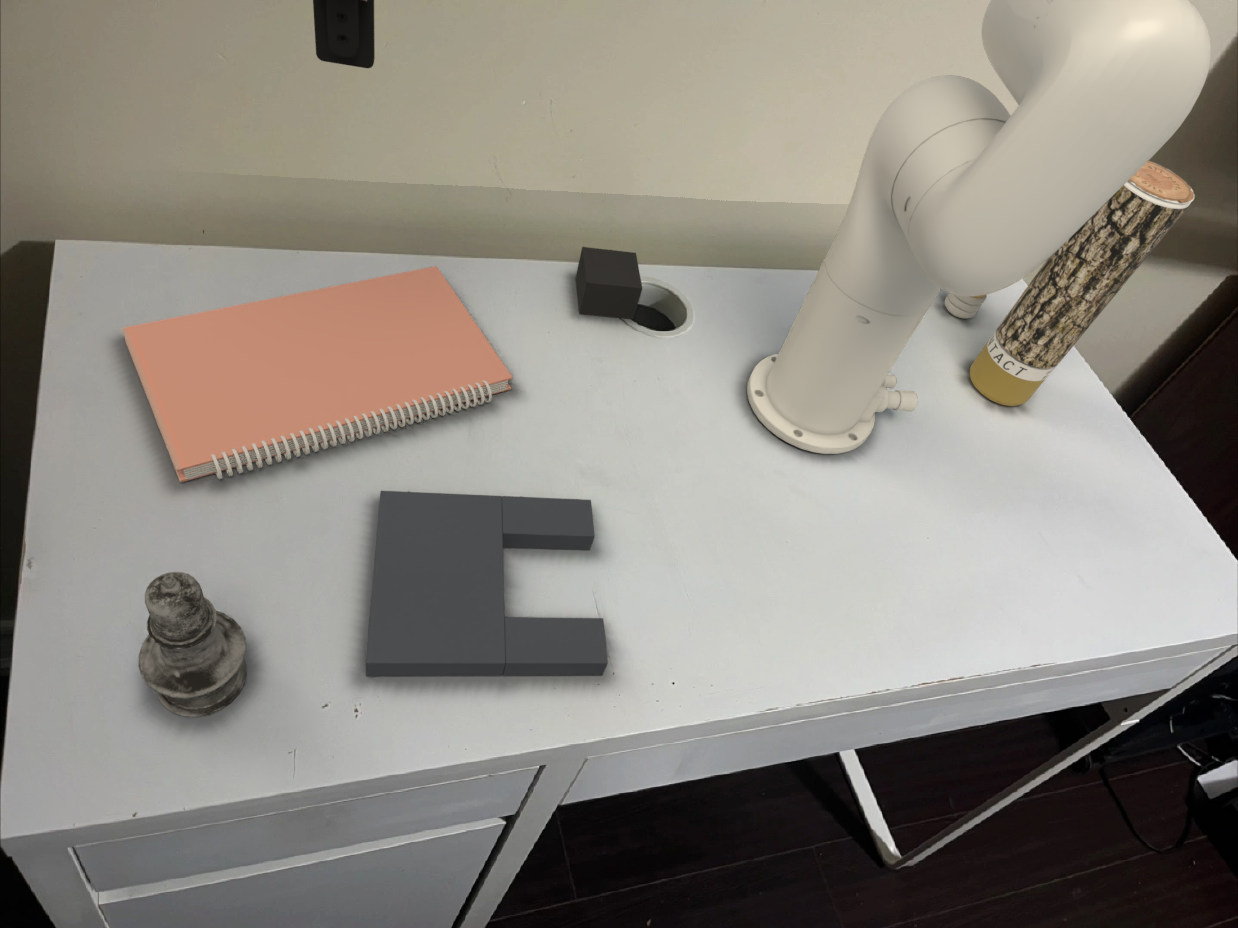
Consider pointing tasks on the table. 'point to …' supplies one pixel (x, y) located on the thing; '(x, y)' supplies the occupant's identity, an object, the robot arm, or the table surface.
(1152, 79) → the robot arm
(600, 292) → the pad piece
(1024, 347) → the paper tube
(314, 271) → the table surface
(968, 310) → the light bulb
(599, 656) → the gray notched slab
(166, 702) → the chess piece
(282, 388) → the notebook
